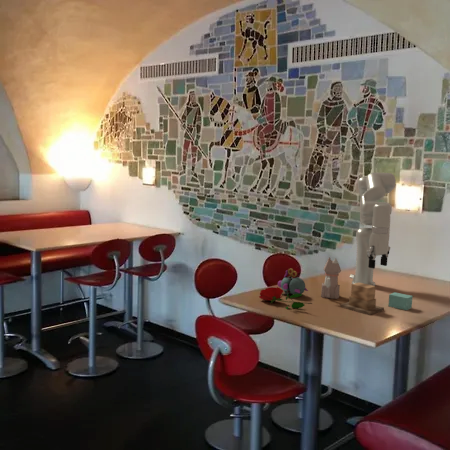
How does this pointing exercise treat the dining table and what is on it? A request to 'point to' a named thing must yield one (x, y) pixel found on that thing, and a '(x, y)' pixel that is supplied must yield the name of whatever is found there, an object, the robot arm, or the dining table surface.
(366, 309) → the pedestal board
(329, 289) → the toy
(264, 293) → the flower
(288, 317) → the dining table surface
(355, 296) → the tan block
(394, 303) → the teal brick
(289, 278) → the toy
